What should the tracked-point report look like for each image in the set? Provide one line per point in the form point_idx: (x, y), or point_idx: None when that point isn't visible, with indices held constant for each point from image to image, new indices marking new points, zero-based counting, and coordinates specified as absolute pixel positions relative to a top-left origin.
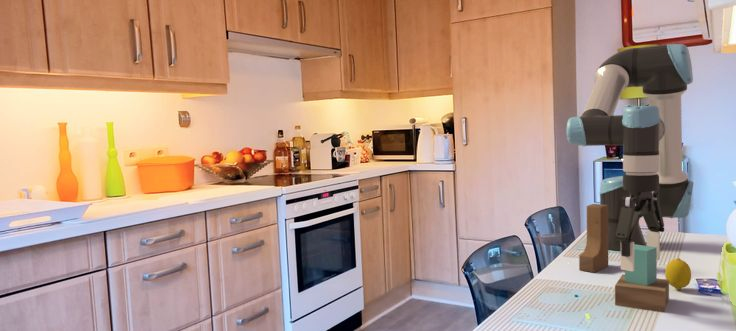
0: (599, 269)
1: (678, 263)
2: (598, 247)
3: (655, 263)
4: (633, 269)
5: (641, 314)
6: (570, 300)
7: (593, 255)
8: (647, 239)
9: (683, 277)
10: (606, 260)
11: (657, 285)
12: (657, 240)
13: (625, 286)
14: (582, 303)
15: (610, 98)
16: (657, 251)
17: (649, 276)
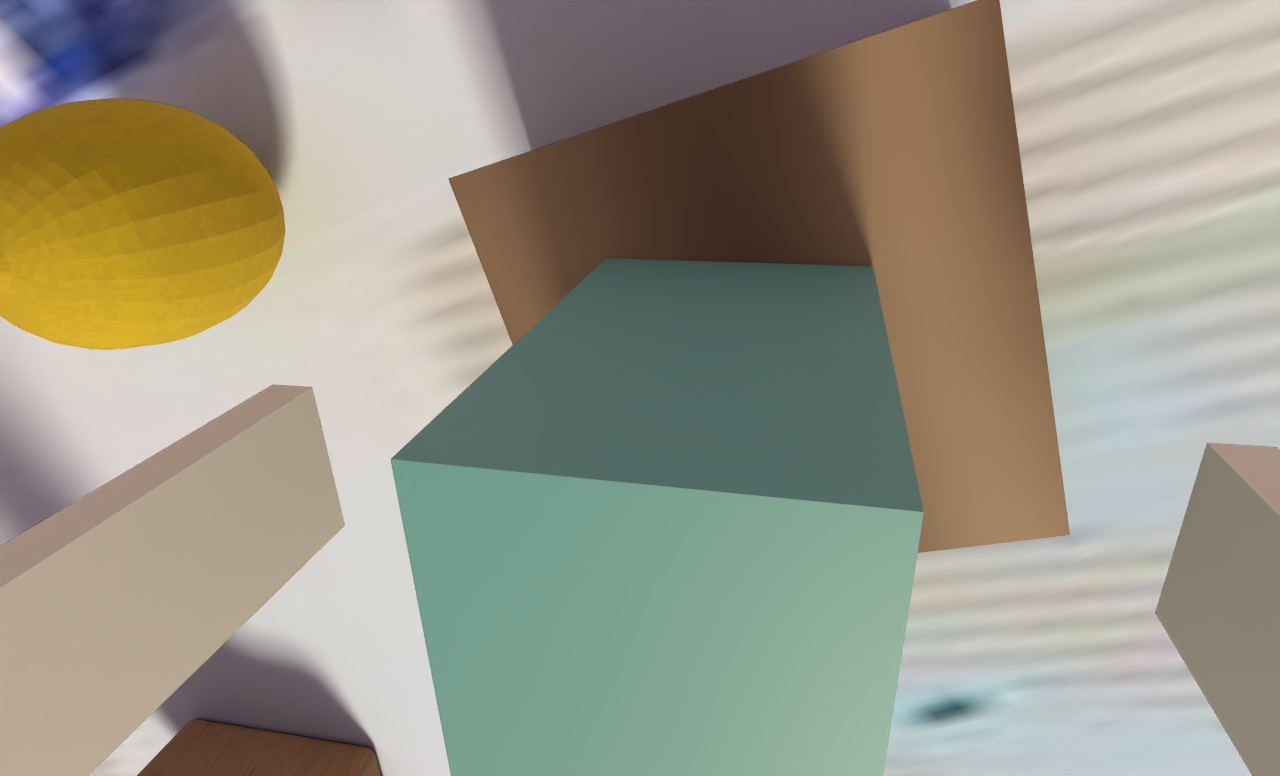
0: (303, 741)
1: (61, 225)
2: None
3: (566, 334)
4: (1258, 460)
5: (1163, 153)
6: (1103, 710)
7: None
8: (125, 721)
9: (188, 137)
10: (182, 761)
11: (765, 184)
12: (54, 573)
13: (1049, 440)
14: (1130, 628)
15: None
16: (229, 455)
17: (798, 294)
